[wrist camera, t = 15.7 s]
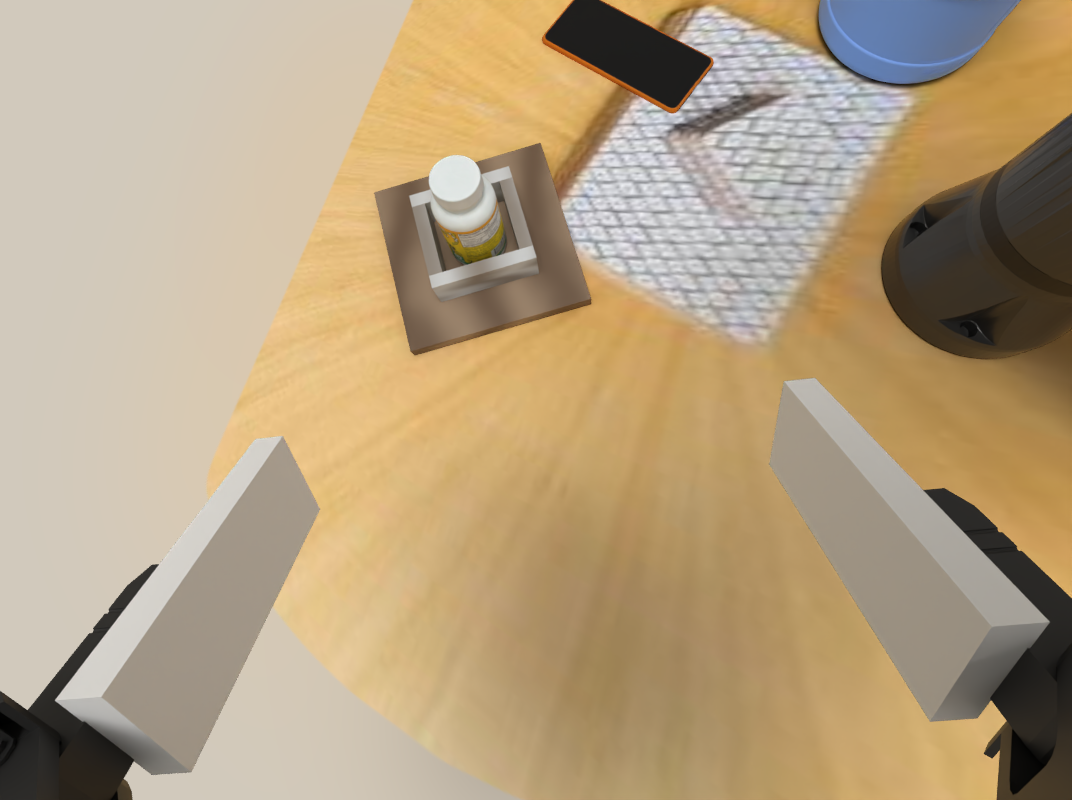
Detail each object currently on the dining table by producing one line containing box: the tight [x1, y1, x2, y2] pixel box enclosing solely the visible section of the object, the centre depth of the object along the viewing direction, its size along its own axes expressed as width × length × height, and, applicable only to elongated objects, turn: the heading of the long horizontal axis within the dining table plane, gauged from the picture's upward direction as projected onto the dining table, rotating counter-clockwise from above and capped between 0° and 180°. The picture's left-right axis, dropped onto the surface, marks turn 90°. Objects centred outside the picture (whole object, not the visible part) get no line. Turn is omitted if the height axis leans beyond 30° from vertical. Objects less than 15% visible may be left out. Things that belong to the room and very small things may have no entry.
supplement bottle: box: [429, 155, 507, 265], centre depth 42 cm, size 5×5×10 cm
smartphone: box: [542, 0, 714, 113], centre depth 51 cm, size 8×17×1 cm, turn 53°
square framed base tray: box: [374, 143, 591, 355], centre depth 45 cm, size 17×17×4 cm
